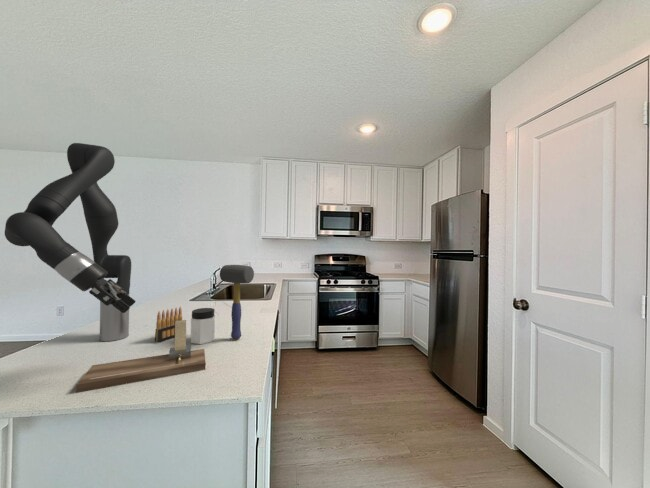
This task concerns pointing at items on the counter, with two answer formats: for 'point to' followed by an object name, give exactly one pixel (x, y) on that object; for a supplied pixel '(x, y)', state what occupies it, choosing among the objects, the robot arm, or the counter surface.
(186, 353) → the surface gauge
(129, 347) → the counter surface
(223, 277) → the rubber mallet
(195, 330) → the jar
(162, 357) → the walnut board
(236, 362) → the counter surface
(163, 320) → the ammunition clip
